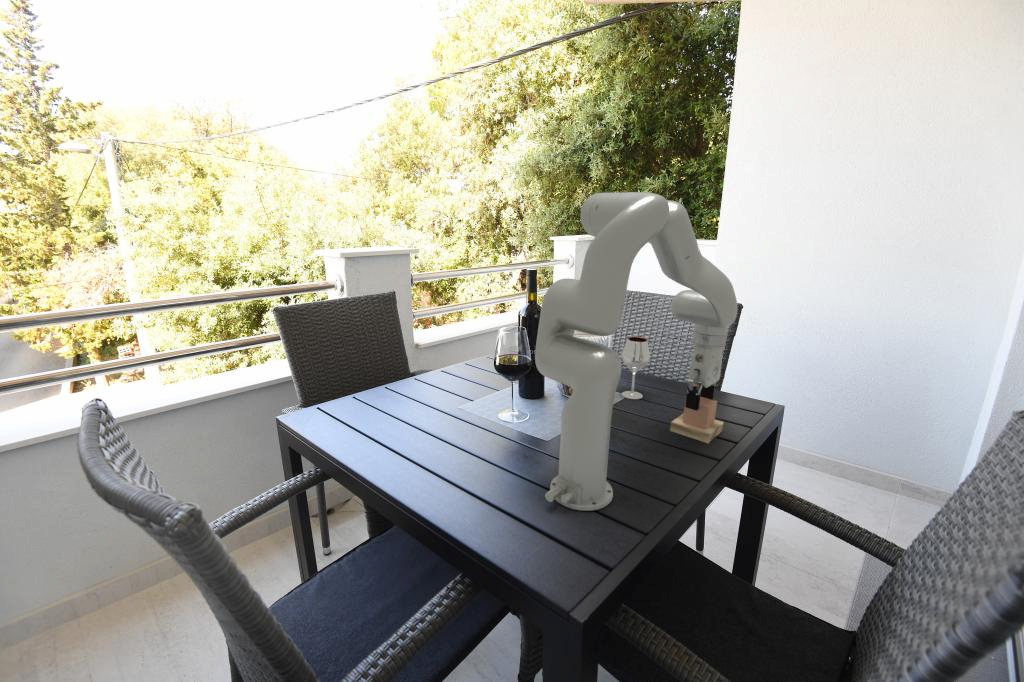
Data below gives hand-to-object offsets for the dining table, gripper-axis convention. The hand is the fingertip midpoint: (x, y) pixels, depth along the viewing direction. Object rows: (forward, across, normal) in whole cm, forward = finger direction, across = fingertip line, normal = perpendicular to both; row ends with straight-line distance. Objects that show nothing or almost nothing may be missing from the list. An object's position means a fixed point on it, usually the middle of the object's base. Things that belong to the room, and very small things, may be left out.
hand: (699, 403), depth 124 cm
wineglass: (+8, +11, +24) cm, 27 cm away
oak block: (+8, +1, 0) cm, 8 cm away
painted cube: (+5, 0, 0) cm, 5 cm away
